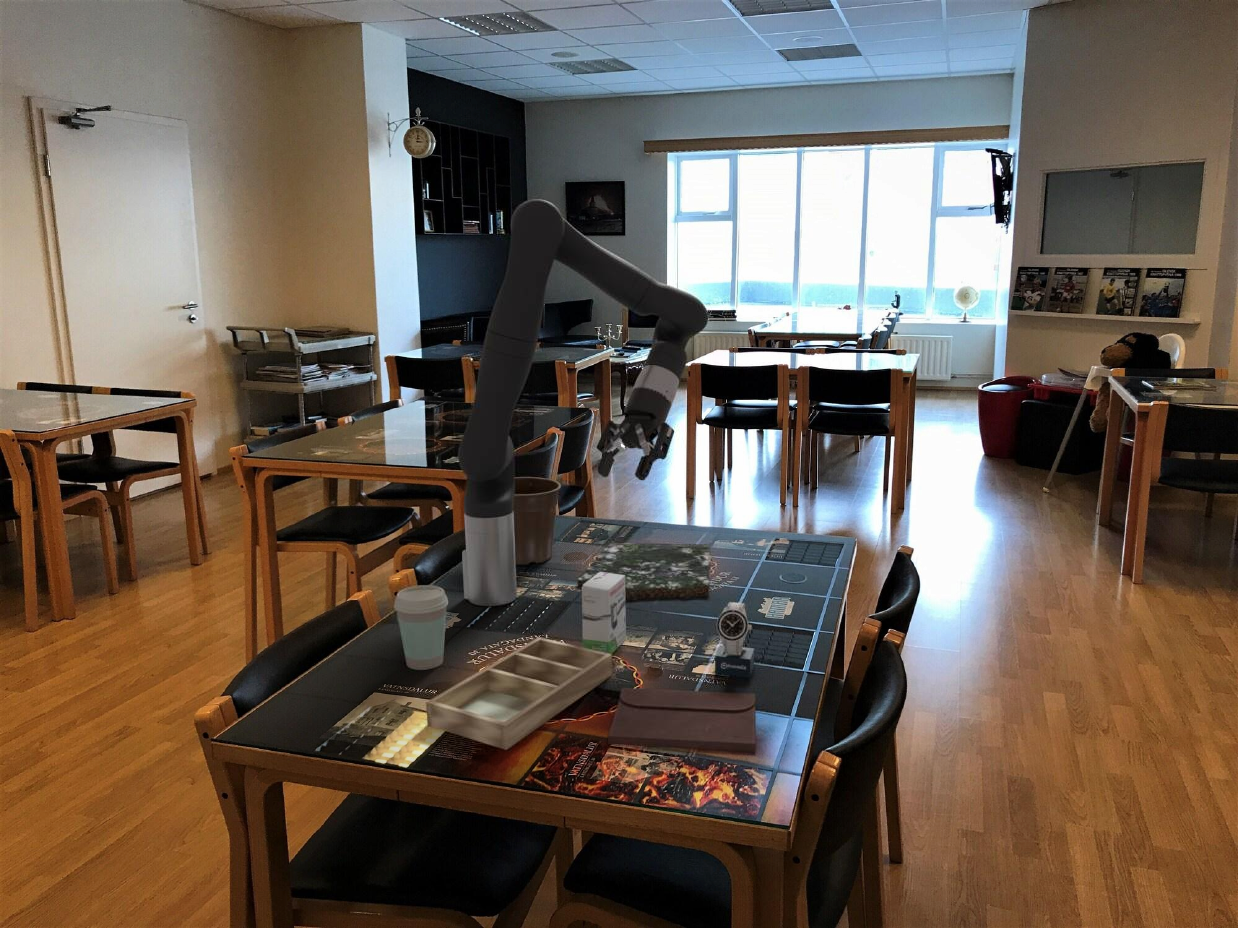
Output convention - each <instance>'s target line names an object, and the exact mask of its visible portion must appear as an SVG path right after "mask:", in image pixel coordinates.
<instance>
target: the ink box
mask: <svg viewBox="0 0 1238 928" xmlns="http://www.w3.org/2000/svg"><path fill="white" fill-rule="evenodd" d="M581 610H582V611H581V613H582V614H581V615H582V616H581V617H582V626H581V627H582V647H583V648H587V649H591V650H596V651H600V652H604V653H608V654H612V655H613V654H614V653H615V652H616V650H617V649H618V648H619V647H620V646H621V645H622V644H623V643H624V642H625V641H626V639H627V632H626V631H627V629H626V628H627V627H626V626H627V625H626V619H627V617H626V598H625V575H620V574H612V573H605V572H599V573H598V574H596V575H595V576H594V577H592V578H591V579H590V580H588V581H587V582H586V583H584V584H583V587H581Z"/></svg>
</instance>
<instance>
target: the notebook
mask: <svg viewBox="0 0 1238 928" xmlns="http://www.w3.org/2000/svg"><path fill="white" fill-rule="evenodd" d="M607 744H608V745H615V746H616V745H619V746H636V747H649V748H650V747H652V748H653V747H655V748H670V749H671V748H672V749H689V750H706V751H709V750H710V751H722V752H723V751H727V752H745V753H746V752H747V753H756V693H741V692H720V691H701V690H698V691H697V690H680V689H679V690H674V689H658V688H657V689H656V688H655V689H653V688H634V687H633V688H632V687H622V688H621V690H620V694H619V699H618V702H617V706H616V710H615V712H614V716H613V720H612V722H611V725H610V729H609V732H608V736H607Z"/></svg>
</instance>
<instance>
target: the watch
mask: <svg viewBox="0 0 1238 928" xmlns="http://www.w3.org/2000/svg"><path fill="white" fill-rule="evenodd" d="M716 620H717V621H716V630H717V633H718V635H719V639H720V642H721V644H720V645H719V646H718V649H717V651H716V653H715V655H714V675H717V676H718V675H719V676H727V677H736V678H746V679H750V678H751V676H752V674H753V671H754V668H755V648H753V647H745V646H743V645H744V644H745V638H746V636H747V634H748V633H749V632H748V631H751V630H752V624H749V621H748V617H747V612H746V604H745V603H742V602H731V601H729V602H728V603H727V606H725V607H724V609H723V611H722V612H721V613H720V615H719V616H718V618H717V619H716Z"/></svg>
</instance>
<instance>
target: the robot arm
mask: <svg viewBox="0 0 1238 928" xmlns="http://www.w3.org/2000/svg"><path fill="white" fill-rule="evenodd" d="M510 232H511V234H510V235H511V236H510V244H509V246H510V247H509V254H508V261H507V266H506V267H507V268H506V271H505V276H504V279H503V281H502V285H501V287H500V289H499V293H498V295H497V297H496V299H495V303H494V305H493V308H492V311H491V314H490V317H489V321H488V323H487V329H486V332H485V336H484V342H483V346H482V351H481V356H480V362H479V363H480V364H479V367H478V368H479V369H478V374H477V375H478V376H477V381H476V389H475V395H474V401H473V405H472V408H471V412H470V415H469V418H468V420H467V424H466V426H465V427H466V428H465V430H464V433H463V436H462V439H461V442H460V444H459V446H458V447H459V448H458V452H457V459H458V463H459V467H460V469H461V470H462V472H463V474H464V475H465V476H466V489H465V493H464V498H463V513H464V514H463V515H464V534H465V536H464V537H465V549H464V550H462V552H461V554H462V555H461V556H462V557H461V561H462V575H463V576H462V580H463V596H464V597H463V598H464V599H465V600H468V601H469V603H470V604H472V605H473V604H474V605H476V606H483V607H495V606H503V605H507V604H509V603H512V602H514V601H515V600H516V599H517V597H518V596H517V567H516V566H517V565H516V561H515V535H514V509H513V501H514V493H515V478H516V475H515V470H516V469H515V467H516V466H515V465H516V464H515V449H514V447H515V446H514V444H513V441H512V438H511V437H510V429H511V424H512V420H513V419H512V418H513V414H514V411H515V408H516V405H517V402H518V400H519V398H520V396H521V393H522V391H523V390H524V386H525V384H526V381H527V378H528V377H529V374H530V370H531V369H532V364H533V361H534V357H535V354H536V349H537V346H538V345H537V344H538V341H539V335H540V331H541V326H542V325H541V324H542V320H543V313H544V306H545V305H544V304H545V297H546V295H545V294H546V289H547V284H548V281H549V277H550V273H551V271H552V267H553V264H554V262H555V261H557V262H559V263H560V264H563V265H564V266H566V267H567V268H569V269H570V270H572V271H574V272H576V273H577V274H578V275H580V276H581V277H583V278H584V279H585V280H587V281H589V282H590V283H591V284H592V285H594V286H595V287H597V288H598V289H599V290H600V291H601V292H603V293H604V294H606V295H607V296H608V297H610V298H611V299H613V300H614V301H616V302H617V303H619V304H620V305H622V306H623V307H625V308H626V309H628V310H629V311H630V310H631V312H634V313H635V314H637V315H638V316H642V317H646V316H651V315H655V316H657V317H659V318H658V319H657V321H656V325H655V328H654V332H653V336H652V341H651V342H652V343H651V349H650V351H649V352H648V354H647V357H646V360H645V363H644V365H643V367H642V369H641V372H640V373H639V375H638V376H637V378H636V381H635V382H634V386H633V387H632V391H631V392H630V394H629V397H628V400H627V403H626V405H625V407H624V419H623V420H622V421H621V423H616V422H614V421H613V420H609V421H608V422H607V423H606V425H605V428H604V430H603V432H602V434H601V437H600V438H599V441H598V442H597V445H596V449H597V450H598V451H599V452H600V453H601V454H602V457H601V459H600V462H599V464H598V465H597V466H598V467H597V473H598V474H599V475H600V476H601V477H603V478H607V477H609V475H610V472H611V469H612V467H613V465H614V462H615V459H616V457H617V456H619V455H620V454H621V453H625V452H626V451H627V450H629V449H638V450H642V452H643V455H642V456H640V459H639V463H638V465H637V467H636V470H635V473H634V476H635V477H636V478H637V479H638V480H639V481H645V480H646V478H647V477H648V476H649V474H650V472H651V469H652V467H653V464H654V463H656V462H657V460H660V459H661V460H662V461H663V460H665V459H666V458H667V456H668V452H669V449H670V447H671V443H672V441H673V438H674V434H675V430H674V429H673V427H671V425H669V424H668V423H667V422H666V421H667V418H668V415H669V413H670V411H671V408H672V405H673V402H674V400H675V398H676V395H677V393H678V388H679V383H680V381H681V378H682V375H683V373H684V370H685V369H686V365H687V363H688V362H687V361H688V354H687V352H686V347H687V345H688V343H689V341H690V339H692V338H693V337H695V336H696V335H698V334H699V333H701V332H702V331H703V330H704V329H705V328H706V327H707V325H708V322H709V312H708V310H707V308H706V306H705V305H704V303H703V302H702V301H701V300H700V299H699V298H697V297H696V296H694V295H693V294H691V293H689V292H687V291H684V290H682V289H679V288H677V287H674V286H671V285H669V284H665V283H662V282H659V281H658V280H656V279H655V278H653V277H652V276H650V275H649V274H648V273H646V272H645V271H643V270H641V269H640V268H639V267H637V266H635V265H634V264H632V263H631V262H629V261H627V260H625V259H623V258H622V257H620V256H618V255H616V254H615V253H613V252H611V251H609V250H608V249H606V248H604V247H602V246H600V245H599V244H597V243H596V242H594V241H592V240H591V239H589V238H588V237H587V236H585V235H584V234H583V233H581V232H580V231H578V229H576V228H575V227H573V225H572V224H570V223H569V222H568V221H567V220H566V219H565V218H564V217H563V215H562V213H561V211H560V210H559V208H558V207H557V206H556V205H554V204H553V203H552V202H551V201H547V200H545V199H539V198H534V199H532V198H531V199H527V200H525V201H524V202H522V203H521V204H519V205H517V207H516V208H515V210H514V211H513V213H512V215H511V218H510ZM655 439H656V440H655ZM620 440H621V443H620ZM654 440H655V441H654ZM615 447H616V448H615Z"/></svg>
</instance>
